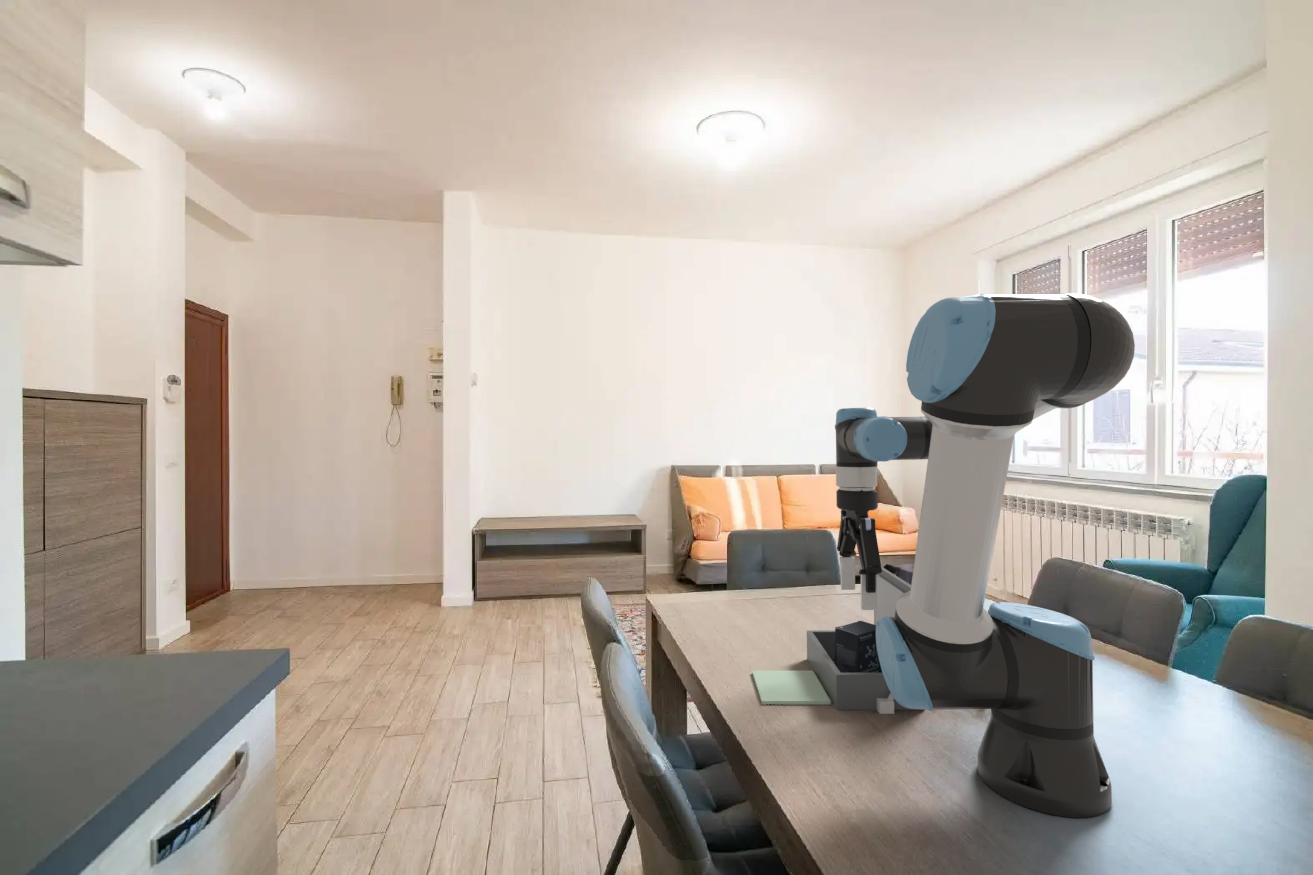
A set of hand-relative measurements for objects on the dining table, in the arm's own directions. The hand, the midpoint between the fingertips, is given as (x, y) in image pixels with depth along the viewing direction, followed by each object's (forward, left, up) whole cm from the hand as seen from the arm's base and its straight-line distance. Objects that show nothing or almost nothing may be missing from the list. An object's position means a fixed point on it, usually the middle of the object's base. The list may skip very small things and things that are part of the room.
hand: (857, 598), depth 116 cm
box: (0, 0, -16) cm, 16 cm away
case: (0, 0, -16) cm, 16 cm away
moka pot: (+20, -18, -16) cm, 31 cm away
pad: (-3, +14, -16) cm, 21 cm away
